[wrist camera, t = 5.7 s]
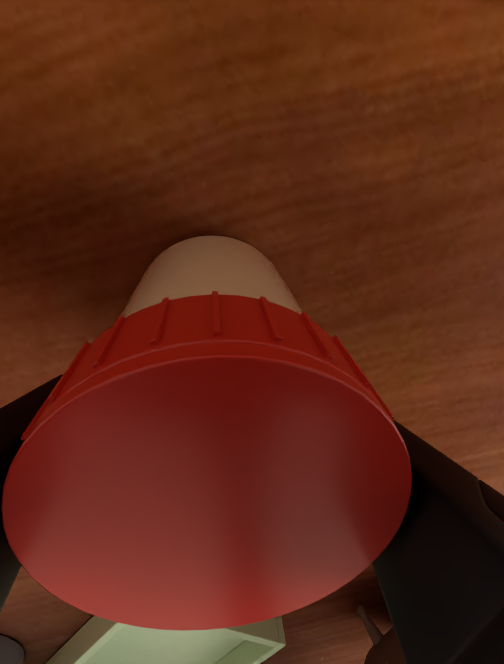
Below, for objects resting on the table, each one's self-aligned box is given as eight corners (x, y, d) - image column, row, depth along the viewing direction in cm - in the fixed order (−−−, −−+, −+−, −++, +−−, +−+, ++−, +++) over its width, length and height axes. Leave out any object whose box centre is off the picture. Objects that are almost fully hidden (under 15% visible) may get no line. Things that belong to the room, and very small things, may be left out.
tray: (281, 610, 25) (286, 645, 23) (170, 695, 29) (167, 730, 27) (142, 566, 21) (136, 604, 19) (36, 672, 25) (22, 711, 23)
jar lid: (175, 211, 6) (156, 240, 4) (420, 399, 8) (492, 480, 6) (1, 464, 8) (-77, 579, 5) (241, 554, 10) (250, 657, 8)
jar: (317, 296, 14) (440, 454, 7) (227, 395, 16) (245, 610, 8) (195, 199, 12) (171, 267, 4) (107, 325, 14) (-18, 530, 6)
